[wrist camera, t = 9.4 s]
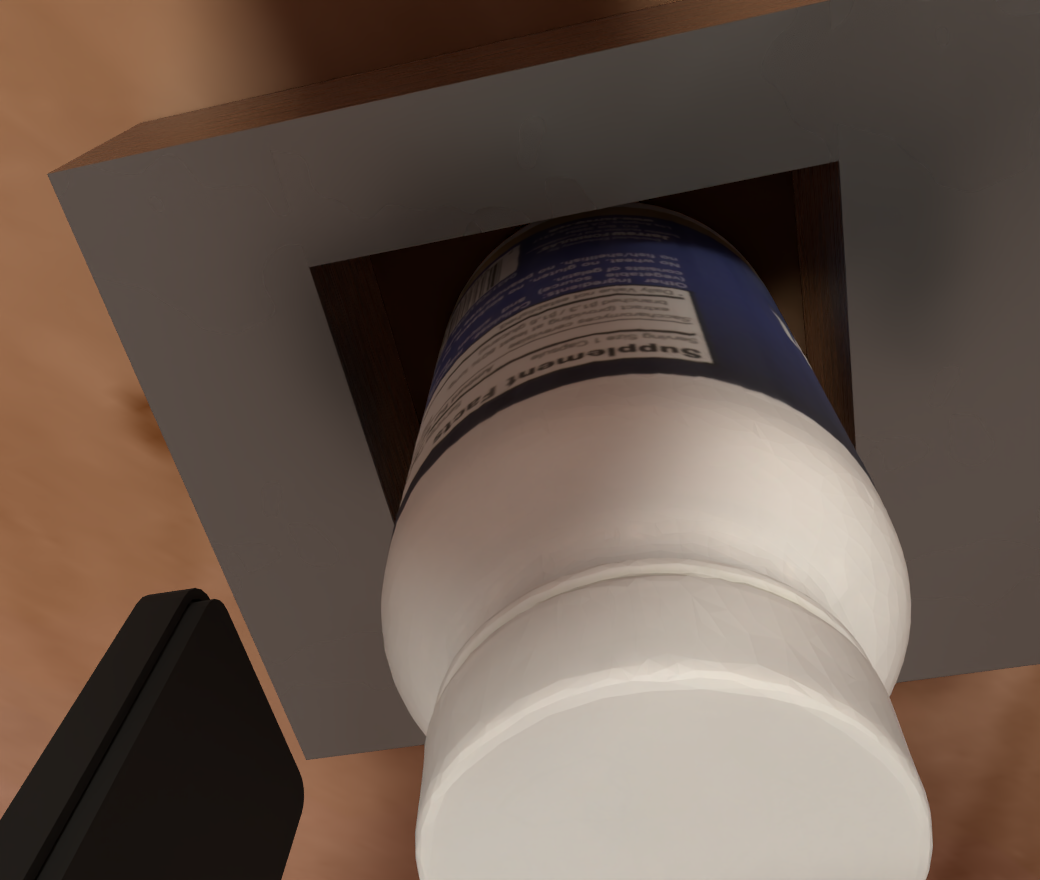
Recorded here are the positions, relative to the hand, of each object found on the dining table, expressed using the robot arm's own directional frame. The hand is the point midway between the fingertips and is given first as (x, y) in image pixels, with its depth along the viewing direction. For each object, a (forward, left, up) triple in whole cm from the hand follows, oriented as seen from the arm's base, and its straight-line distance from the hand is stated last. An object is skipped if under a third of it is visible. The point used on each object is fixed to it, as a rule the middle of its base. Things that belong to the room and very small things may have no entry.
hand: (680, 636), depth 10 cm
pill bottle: (0, 0, -7) cm, 7 cm away
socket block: (+1, 0, -7) cm, 7 cm away
